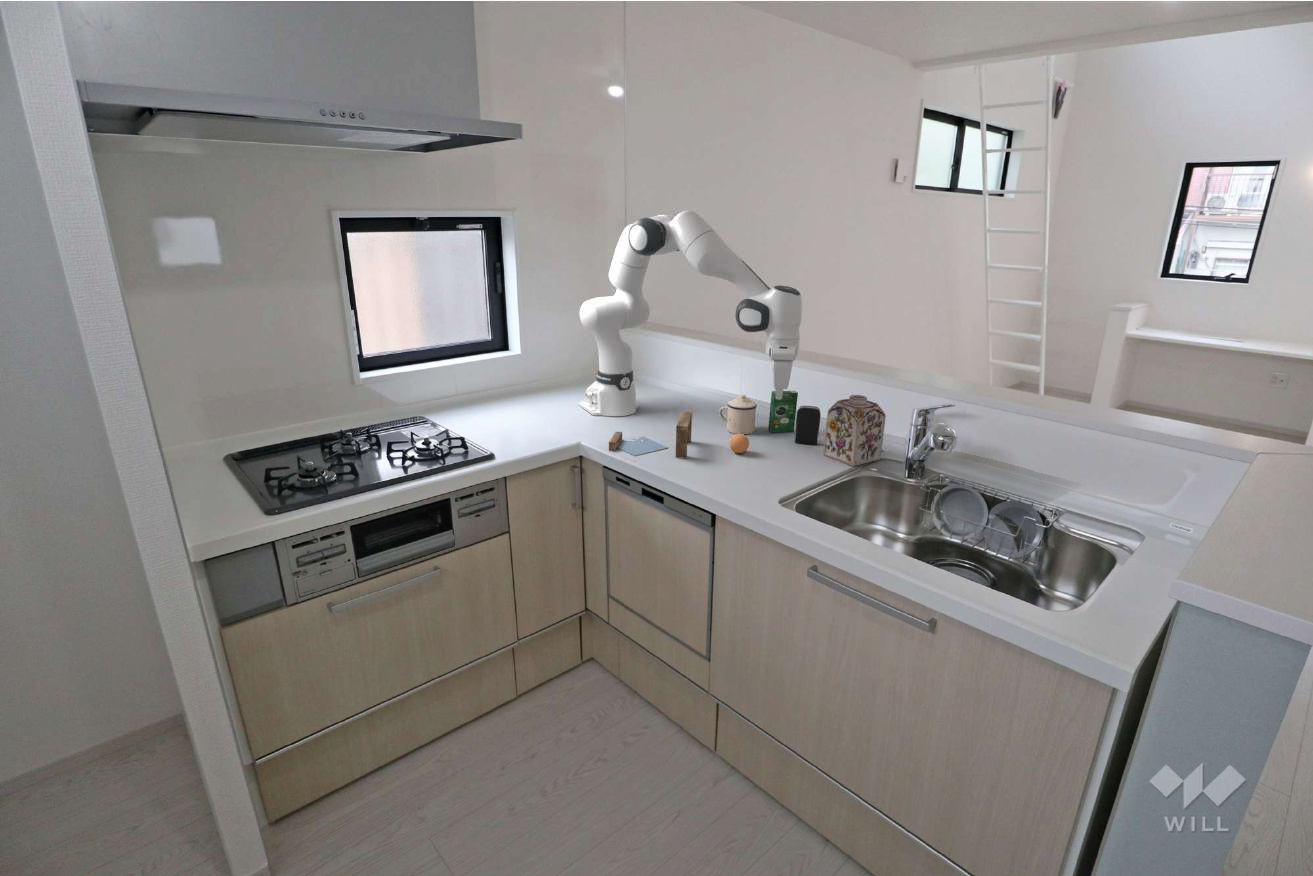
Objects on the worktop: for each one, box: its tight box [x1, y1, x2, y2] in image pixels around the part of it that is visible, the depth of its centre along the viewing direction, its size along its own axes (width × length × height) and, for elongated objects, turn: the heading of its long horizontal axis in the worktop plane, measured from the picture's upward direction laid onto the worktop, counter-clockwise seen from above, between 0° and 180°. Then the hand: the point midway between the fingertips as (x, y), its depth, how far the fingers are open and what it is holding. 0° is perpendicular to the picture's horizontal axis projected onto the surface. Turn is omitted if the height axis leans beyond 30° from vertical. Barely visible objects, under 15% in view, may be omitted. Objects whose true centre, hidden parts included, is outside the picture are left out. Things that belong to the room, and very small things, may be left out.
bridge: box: [675, 410, 693, 459], centre depth 195 cm, size 3×15×9 cm, turn 172°
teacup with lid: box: [718, 394, 758, 435], centre depth 212 cm, size 12×9×12 cm
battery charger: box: [794, 405, 821, 446], centre depth 202 cm, size 7×4×11 cm, turn 75°
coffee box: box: [767, 390, 799, 434], centre depth 212 cm, size 8×3×13 cm, turn 102°
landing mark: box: [617, 436, 669, 457], centre depth 198 cm, size 12×12×1 cm
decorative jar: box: [823, 394, 887, 467], centre depth 189 cm, size 12×12×18 cm
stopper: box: [608, 431, 623, 452], centre depth 198 cm, size 2×10×2 cm, turn 172°
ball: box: [729, 434, 750, 454], centre depth 193 cm, size 6×6×6 cm
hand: (778, 397), depth 187 cm, fingers open, 3 cm apart
